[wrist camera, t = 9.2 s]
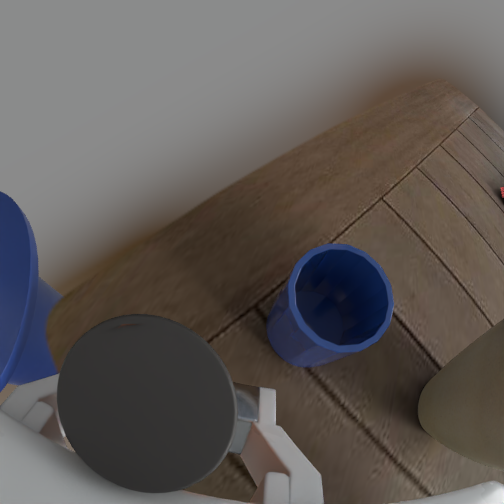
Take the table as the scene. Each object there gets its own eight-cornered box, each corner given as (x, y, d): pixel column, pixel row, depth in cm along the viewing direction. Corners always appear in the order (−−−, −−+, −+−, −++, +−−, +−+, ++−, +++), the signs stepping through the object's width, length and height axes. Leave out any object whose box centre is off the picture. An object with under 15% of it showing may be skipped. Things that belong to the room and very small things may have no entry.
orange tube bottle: (163, 424, 14) (56, 473, 3) (164, 368, 16) (64, 304, 5) (223, 428, 14) (238, 500, 4) (223, 371, 16) (239, 318, 5)
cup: (267, 368, 27) (290, 354, 19) (265, 288, 31) (285, 241, 22) (347, 365, 28) (399, 347, 19) (340, 289, 32) (384, 246, 23)
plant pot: (487, 435, 25) (585, 424, 10) (395, 484, 22) (504, 513, 8) (471, 329, 31) (565, 281, 17) (378, 357, 29) (489, 312, 15)
